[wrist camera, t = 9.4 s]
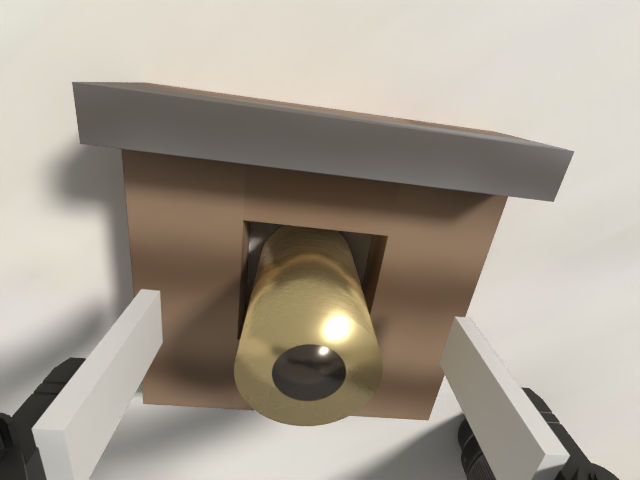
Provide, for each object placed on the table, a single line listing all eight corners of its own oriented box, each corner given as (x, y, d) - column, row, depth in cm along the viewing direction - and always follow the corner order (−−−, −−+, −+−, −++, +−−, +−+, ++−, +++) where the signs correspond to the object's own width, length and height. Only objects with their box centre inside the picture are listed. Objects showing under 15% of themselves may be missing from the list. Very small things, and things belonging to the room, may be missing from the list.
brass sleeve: (359, 225, 21) (397, 318, 13) (344, 305, 23) (367, 429, 15) (263, 215, 20) (236, 305, 12) (257, 298, 22) (231, 422, 14)
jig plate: (414, 384, 26) (445, 465, 21) (161, 367, 24) (120, 450, 19) (495, 132, 19) (574, 151, 13) (145, 82, 17) (71, 82, 12)
